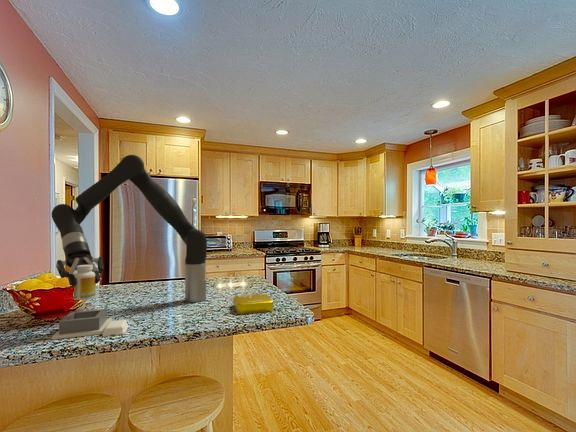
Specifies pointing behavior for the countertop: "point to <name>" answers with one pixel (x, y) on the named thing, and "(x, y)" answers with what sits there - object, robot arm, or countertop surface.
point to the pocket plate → (82, 324)
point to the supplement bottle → (84, 283)
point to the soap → (115, 328)
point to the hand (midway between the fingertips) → (86, 283)
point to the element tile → (253, 303)
